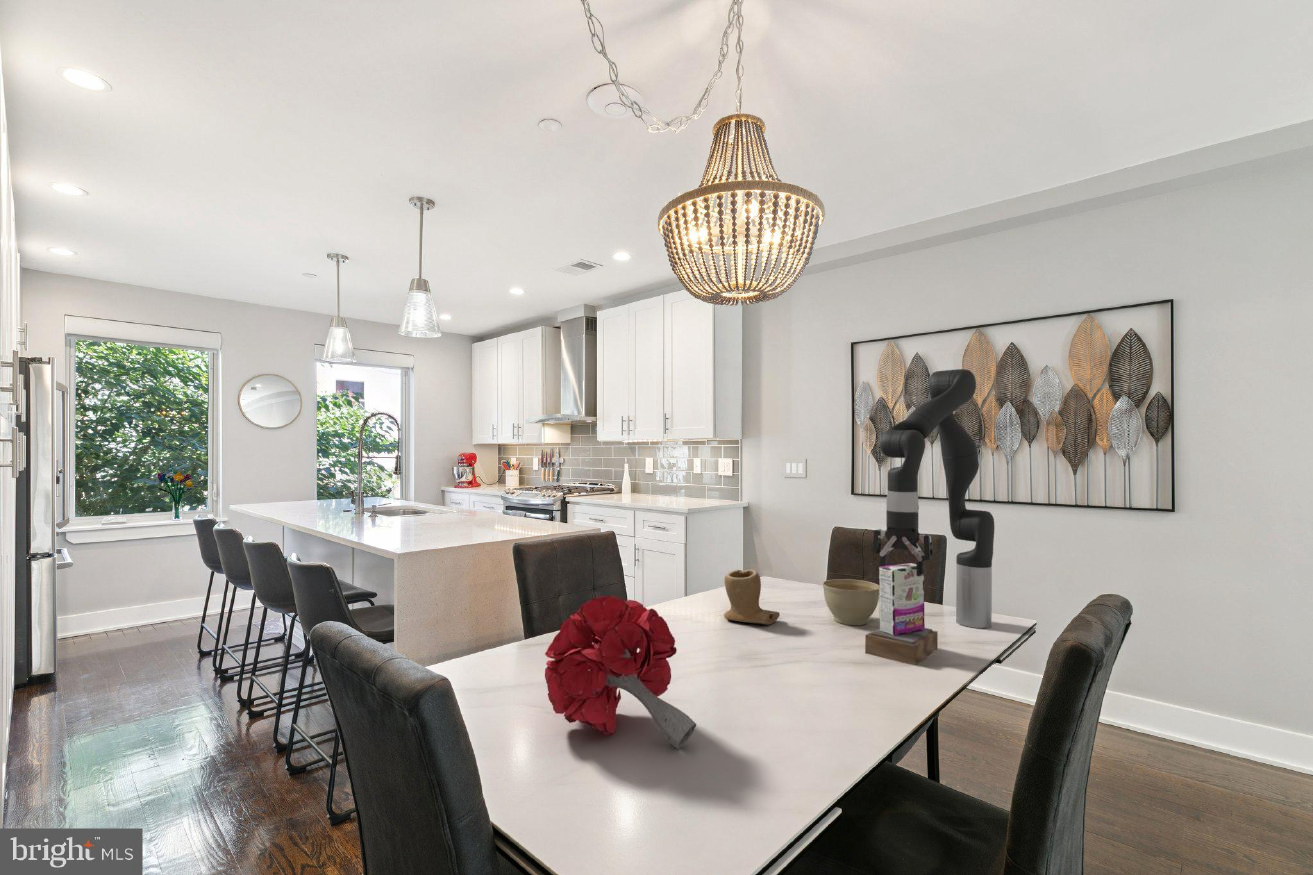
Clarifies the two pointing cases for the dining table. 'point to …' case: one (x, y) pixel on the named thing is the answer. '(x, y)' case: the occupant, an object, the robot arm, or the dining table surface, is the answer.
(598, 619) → the bouquet
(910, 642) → the stand
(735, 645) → the dining table surface
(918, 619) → the candy bar box
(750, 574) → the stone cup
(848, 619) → the planter bowl
